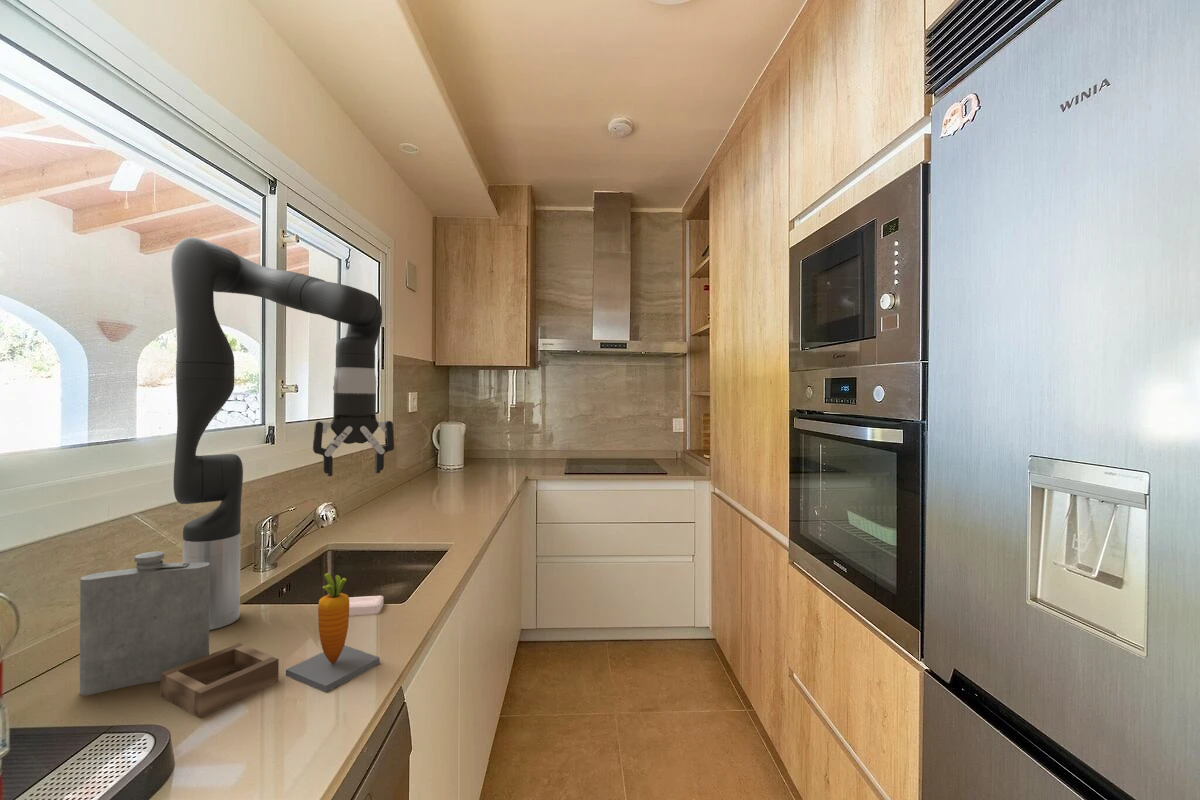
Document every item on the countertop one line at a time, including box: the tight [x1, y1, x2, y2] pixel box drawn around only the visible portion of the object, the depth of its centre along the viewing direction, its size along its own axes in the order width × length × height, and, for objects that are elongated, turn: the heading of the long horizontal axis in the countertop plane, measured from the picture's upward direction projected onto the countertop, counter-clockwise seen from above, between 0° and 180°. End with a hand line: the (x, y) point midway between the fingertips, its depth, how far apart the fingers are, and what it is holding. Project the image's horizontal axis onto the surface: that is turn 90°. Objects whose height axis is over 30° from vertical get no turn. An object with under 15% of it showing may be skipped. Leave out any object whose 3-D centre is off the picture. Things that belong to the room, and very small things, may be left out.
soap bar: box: [349, 595, 385, 617], centre depth 111 cm, size 5×9×2 cm, turn 102°
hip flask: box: [79, 550, 210, 696], centre depth 84 cm, size 16×4×20 cm, turn 117°
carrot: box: [317, 572, 350, 664], centre depth 87 cm, size 5×5×15 cm
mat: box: [285, 644, 381, 693], centre depth 88 cm, size 10×10×1 cm
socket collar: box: [160, 642, 279, 719], centre depth 81 cm, size 11×11×4 cm
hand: (354, 474), depth 103 cm, fingers open, 8 cm apart
